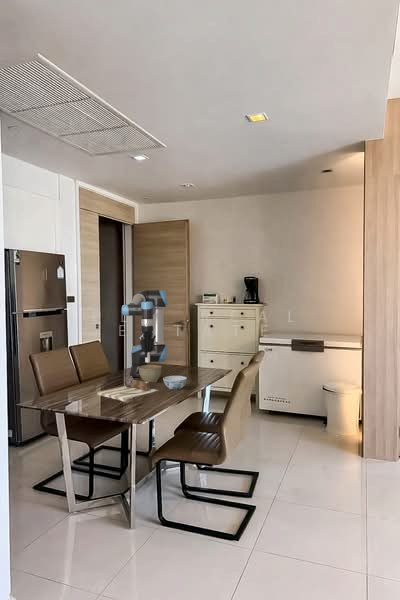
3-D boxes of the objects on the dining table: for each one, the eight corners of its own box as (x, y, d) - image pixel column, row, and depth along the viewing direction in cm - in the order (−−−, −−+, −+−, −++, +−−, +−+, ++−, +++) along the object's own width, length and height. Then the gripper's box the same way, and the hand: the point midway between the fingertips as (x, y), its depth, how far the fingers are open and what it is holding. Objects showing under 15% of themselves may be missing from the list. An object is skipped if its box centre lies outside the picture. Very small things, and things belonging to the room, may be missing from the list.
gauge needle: (124, 386, 265) (124, 377, 265) (130, 384, 269) (130, 376, 269) (145, 390, 253) (145, 381, 253) (150, 389, 257) (150, 380, 257)
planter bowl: (166, 380, 291) (165, 365, 291) (154, 385, 276) (153, 369, 276) (146, 379, 297) (146, 364, 297) (134, 383, 283) (133, 367, 283)
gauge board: (96, 394, 252) (96, 392, 252) (130, 386, 273) (130, 384, 273) (126, 401, 235) (125, 398, 235) (159, 392, 256) (159, 390, 256)
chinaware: (160, 392, 256) (160, 380, 256) (166, 387, 271) (166, 375, 271) (184, 393, 254) (184, 380, 254) (188, 387, 269) (188, 376, 269)
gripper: (143, 326, 256) (144, 364, 257) (158, 325, 267) (158, 361, 267) (135, 325, 261) (136, 362, 261) (150, 324, 271) (150, 360, 271)
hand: (147, 362), depth 264 cm, fingers closed
